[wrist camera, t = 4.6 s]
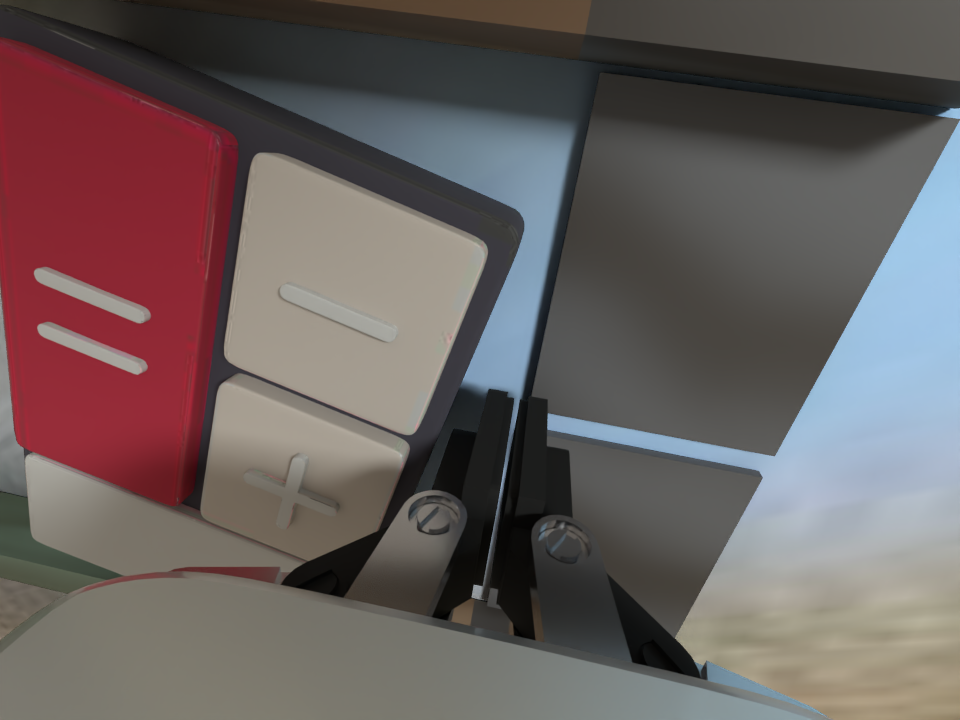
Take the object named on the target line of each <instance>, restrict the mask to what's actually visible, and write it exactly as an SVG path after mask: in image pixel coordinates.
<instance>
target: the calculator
mask: <svg viewBox="0 0 960 720" xmlns="http://www.w3.org/2000/svg"><path fill="white" fill-rule="evenodd" d="M523 232H524V221H523V218H522V216H521V214H520V213H519V212H518V211H516V210H515V209H513V208H511V207H509V206H507V205H505V204H503V203H501V202H498V201H496V200H494V199H491V198H489V197H487V196H485V195H482V194H480V193H478V192H475V191H473V190H471V189H468V188H466V187H464V186H461V185H459V184H457V183H455V182H452V181H450V180H448V179H445V178H443V177H441V176H438V175H436V174H434V173H432V172H429V171H427V170H425V169H422V168H420V167H418V166H415V165H413V164H411V163H408V162H406V161H404V160H402V159H399V158H397V157H395V156H392V155H390V154H388V153H385V152H383V151H381V150H378V149H376V148H374V147H372V146H369V145H367V144H365V143H362V142H360V141H358V140H355V139H353V138H351V137H348V136H346V135H344V134H342V133H339V132H337V131H335V130H332V129H330V128H328V127H325V126H323V125H321V124H318V123H316V122H314V121H312V120H309V119H307V118H305V117H302V116H300V115H298V114H295V113H293V112H291V111H288V110H286V109H284V108H282V107H279V106H277V105H275V104H272V103H270V102H268V101H265V100H263V99H261V98H259V97H256V96H254V95H252V94H249V93H247V92H245V91H242V90H240V89H238V88H235V87H233V86H231V85H229V84H226V83H224V82H222V81H219V80H217V79H215V78H212V77H210V76H208V75H205V74H203V73H201V72H199V71H196V70H194V69H192V68H189V67H187V66H185V65H182V64H180V63H178V62H175V61H173V60H171V59H169V58H166V57H164V56H162V55H159V54H157V53H155V52H152V51H150V50H148V49H145V48H143V47H141V46H138V45H136V44H134V43H131V42H128V41H126V40H122V39H119V38H116V37H113V36H109V35H106V34H103V33H100V32H96V31H93V30H90V29H86V28H83V27H80V26H77V25H73V24H70V23H67V22H63V21H60V20H57V19H53V18H50V17H46V16H43V15H39V14H36V13H33V12H29V11H26V10H22V9H19V8H16V7H12V6H7V5H0V288H1V299H2V309H3V319H4V330H5V340H6V350H7V360H8V371H9V381H10V391H11V401H12V412H13V422H14V431H15V436H16V440H17V442H18V444H19V445H20V446H22V447H24V456H25V472H26V483H27V494H28V506H29V517H30V528H31V534H32V537H33V538H34V539H35V540H36V541H38V542H40V543H42V544H44V545H46V546H49V547H51V548H54V549H56V550H59V551H62V552H64V553H67V554H69V555H72V556H74V557H77V558H80V559H82V560H85V561H87V562H90V563H93V564H95V565H98V566H100V567H103V568H105V569H108V570H111V571H113V572H116V573H118V574H121V575H123V576H130V575H137V574H145V573H152V572H168V571H171V570H173V569H177V568H184V567H280V568H281V572H292V571H293V570H294V569H295V568H297V567H299V566H300V565H302V564H304V563H306V562H308V561H310V560H312V559H315V558H317V557H319V556H322V555H324V554H326V553H328V552H331V551H333V550H335V549H338V548H340V547H342V546H344V545H347V544H349V543H351V542H354V541H356V540H358V539H361V538H363V537H365V536H367V535H370V534H372V533H374V532H377V531H379V530H381V529H383V528H386V527H388V526H390V525H391V523H392V522H393V520H394V519H395V517H396V516H397V514H398V513H399V511H400V509H401V508H402V506H403V505H404V503H405V502H406V501H407V500H408V499H409V498H410V497H412V496H413V495H414V492H415V490H416V488H417V485H418V483H419V481H420V478H421V476H422V474H423V471H424V469H425V467H426V464H427V462H428V460H429V457H430V455H431V453H432V450H433V448H434V446H435V443H436V441H437V439H438V436H439V434H440V432H441V429H442V427H443V425H444V422H445V420H446V418H447V415H448V413H449V410H450V408H451V406H452V403H453V401H454V399H455V396H456V394H457V392H458V389H459V387H460V385H461V382H462V380H463V378H464V375H465V373H466V371H467V368H468V366H469V364H470V361H471V359H472V357H473V354H474V352H475V350H476V347H477V345H478V343H479V340H480V338H481V336H482V333H483V331H484V329H485V326H486V324H487V322H488V319H489V317H490V315H491V312H492V310H493V308H494V305H495V303H496V301H497V298H498V296H499V294H500V291H501V289H502V287H503V284H504V282H505V280H506V277H507V275H508V273H509V270H510V268H511V266H512V263H513V261H514V258H515V256H516V254H517V251H518V248H519V245H520V242H521V239H522V235H523Z"/></svg>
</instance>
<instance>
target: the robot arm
mask: <svg viewBox="0 0 960 720" xmlns="http://www.w3.org/2000/svg"><path fill="white" fill-rule="evenodd" d="M507 393H508V392H504V391H499V390H493V389H489V390H488V394H487V398H486V402H485V406H484V409H483V413H482V417H481V421H480V424H479V428H478V432H477V433H476V432H471V431H465V430H460V429H455V428H454V429H453V431H452V433H451V436H450V439H449V442H448V445H447V448H446V450H445V453H444V456H443V459H442V462H441V465H440V467H439V470H438V473H437V476H436V479H435V482H434V484H433V487H432V490H429V491H424V492H420V493H417V494H415V495H414V496H412V497H410V498H409V499H408V500H407V501H406V502H405V503H404V505H403V506H402V508H401V509H400V511H399V513H398V514H397V516H396V517H395V519H394V520H393V522H392V523H391V525H390V526H388V527H386V528H383V529H381V530H379V531H377V532H374V533H372V534H370V535H367V536H365V537H363V538H361V539H358V540H356V541H354V542H351V543H349V544H347V545H344V546H342V547H340V548H338V549H335V550H333V551H331V552H328V553H326V554H324V555H322V556H319V557H317V558H315V559H312V560H310V561H308V562H306V563H304V564H302V565H300V566H299V567H297V568H295V569H294V570H293V571H292V572H281V568H280V567H184V568H177V569H173V570H171V571H168V572H152V573H145V574H137V575H130V576H123V577H118V578H114V579H109V580H105V581H102V582H98V583H95V584H91V585H88V586H85V587H83V588H80V589H78V590H75V591H73V592H71V593H69V594H67V595H65V596H63V597H61V598H59V599H57V600H56V601H54V602H52V603H51V604H49V605H48V606H46V607H44V608H43V609H41V610H40V611H38V612H37V613H35V614H34V615H33V616H31V617H30V618H28V619H27V620H26V621H24V622H23V623H21V624H20V625H19V626H18V627H16V628H15V629H14V630H13V631H11V632H10V633H9V634H7V635H6V636H5V637H4V638H2V639H1V640H0V720H833V719H830V718H828V717H827V716H826V715H824V714H822V713H821V712H819V711H817V710H816V709H814V708H812V707H810V706H808V705H806V704H803V703H801V702H799V701H797V700H794V699H792V698H790V697H788V696H785V695H783V694H781V693H779V692H776V691H774V690H772V689H769V688H767V687H765V686H763V685H760V684H758V683H756V682H754V681H751V680H749V679H747V678H744V677H742V676H740V675H738V674H735V673H733V672H731V671H729V670H726V669H724V668H722V667H719V666H717V665H715V664H713V663H710V662H708V661H706V663H705V664H704V666H703V665H700V664H698V663H696V662H694V660H693V659H692V657H691V656H690V654H689V653H688V652H687V651H686V650H685V649H684V647H683V646H682V645H681V644H680V643H679V642H678V641H677V640H676V639H675V638H674V637H673V636H672V635H671V634H670V633H668V632H667V631H666V630H665V629H664V628H663V627H662V626H661V625H660V624H659V623H658V622H657V621H656V620H655V619H654V618H653V617H652V616H651V615H650V614H649V613H648V612H647V611H646V610H645V609H644V608H643V607H642V606H641V605H639V604H638V603H637V602H636V601H635V600H634V599H633V598H632V597H631V596H630V595H629V594H628V593H627V592H626V591H625V590H624V589H623V588H622V587H621V586H620V585H619V584H618V583H617V582H616V581H615V580H614V579H613V578H612V577H610V576H609V575H608V574H607V573H606V569H605V566H604V562H603V559H602V555H601V552H600V548H599V545H598V542H597V540H596V538H595V536H594V534H593V533H592V532H591V531H590V530H589V528H588V527H586V526H585V525H584V524H582V523H581V522H580V521H578V520H575V519H573V513H572V493H571V473H570V454H569V450H566V449H561V448H556V447H550V446H547V416H548V399H543V398H538V397H532V396H528V400H527V401H526V400H520V403H519V409H518V414H517V419H516V425H515V430H514V435H513V441H512V446H511V451H510V457H509V462H508V467H507V472H506V478H505V484H504V491H503V498H502V505H501V512H500V519H499V526H498V532H497V539H496V546H495V553H494V560H493V567H492V574H491V581H490V588H493V589H498V593H497V601H496V604H497V605H499V606H500V607H501V609H502V610H503V611H504V613H505V614H506V615H507V616H508V618H509V619H510V623H509V634H504V633H500V632H495V631H491V630H486V629H482V628H477V627H473V626H469V625H464V624H460V623H455V622H451V620H452V617H453V612H454V608H456V607H457V606H459V605H461V604H462V603H464V602H466V601H467V600H469V599H471V596H472V591H473V585H474V584H475V585H479V586H483V581H484V575H485V570H486V564H487V559H488V553H489V548H490V543H491V537H492V532H493V526H494V521H495V515H496V510H497V505H498V499H499V493H500V487H501V481H502V475H503V468H504V462H505V455H506V449H507V442H508V436H509V429H510V423H511V417H512V410H513V404H514V398H509V397H507Z"/></svg>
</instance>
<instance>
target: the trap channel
mask: <svg viewBox="0 0 960 720" xmlns="http://www.w3.org/2000/svg"><path fill="white" fill-rule="evenodd" d="M116 1H124V2H132V3H140V4H147V5H155V6H163V7H171V8H178V9H186V10H194V11H202V12H209V13H217V14H225V15H233V16H240V17H248V18H256V19H264V20H272V21H279V22H287V23H295V24H303V25H310V26H318V27H326V28H334V29H341V30H349V31H357V32H365V33H372V34H380V35H388V36H396V37H403V38H411V39H419V40H427V41H434V42H442V43H450V44H458V45H465V46H473V47H481V48H489V49H496V50H504V51H512V52H520V53H527V54H535V55H543V56H551V57H558V58H566V59H574V60H582V61H590V62H597V63H605V64H613V65H621V66H628V67H636V68H644V69H652V70H659V71H667V72H675V73H683V74H690V75H698V76H706V77H714V78H721V79H729V80H737V81H745V82H752V83H760V84H768V85H776V86H783V87H791V88H799V89H807V90H814V91H822V92H830V93H838V94H845V95H853V96H861V97H869V98H876V99H884V100H892V101H900V102H907V103H915V104H923V105H931V106H939V107H946V108H960V0H116ZM959 120H960V119H955V118H947V117H940V116H932V115H924V114H917V113H909V112H901V111H894V110H886V109H878V108H871V107H863V106H855V105H848V104H840V103H832V102H825V101H817V100H809V99H802V98H794V97H786V96H779V95H771V94H763V93H756V92H748V91H740V90H733V89H725V88H717V87H710V86H702V85H694V84H687V83H679V82H671V81H664V80H656V79H649V78H641V77H633V76H626V75H618V74H610V73H603V72H600V74H599V77H598V82H597V87H596V91H595V96H594V101H593V105H592V110H591V115H590V120H589V124H588V129H587V134H586V138H585V143H584V148H583V153H582V157H581V162H580V167H579V171H578V176H577V181H576V186H575V190H574V195H573V200H572V204H571V209H570V214H569V219H568V223H567V228H566V233H565V237H564V242H563V247H562V251H561V256H560V261H559V266H558V270H557V275H556V280H555V284H554V289H553V294H552V299H551V303H550V308H549V313H548V317H547V322H546V327H545V332H544V336H543V341H542V346H541V350H540V355H539V360H538V365H537V369H536V374H535V379H534V383H533V388H532V393H531V396H532V397H538V398H543V399H548V413H551V414H556V415H561V416H567V417H572V418H577V419H582V420H588V421H593V422H598V423H603V424H608V425H614V426H619V427H624V428H629V429H635V430H640V431H645V432H650V433H656V434H661V435H666V436H671V437H677V438H682V439H687V440H692V441H697V442H703V443H708V444H713V445H718V446H724V447H729V448H734V449H739V450H745V451H750V452H755V453H760V454H765V455H771V456H775V455H776V453H777V451H778V449H779V447H780V446H781V444H782V442H783V440H784V438H785V437H786V435H787V433H788V431H789V429H790V427H791V426H792V424H793V422H794V420H795V418H796V417H797V415H798V413H799V411H800V409H801V407H802V406H803V404H804V402H805V400H806V398H807V397H808V395H809V393H810V391H811V389H812V388H813V386H814V384H815V382H816V380H817V378H818V377H819V375H820V373H821V371H822V369H823V368H824V366H825V364H826V362H827V360H828V358H829V357H830V355H831V353H832V351H833V349H834V348H835V346H836V344H837V342H838V340H839V338H840V337H841V335H842V333H843V331H844V329H845V328H846V326H847V324H848V322H849V320H850V318H851V317H852V315H853V313H854V311H855V309H856V308H857V306H858V304H859V302H860V300H861V298H862V297H863V295H864V293H865V291H866V289H867V288H868V286H869V284H870V282H871V280H872V279H873V277H874V275H875V273H876V271H877V269H878V268H879V266H880V264H881V262H882V260H883V259H884V257H885V255H886V253H887V251H888V249H889V248H890V246H891V244H892V242H893V240H894V239H895V237H896V235H897V233H898V231H899V229H900V228H901V226H902V224H903V222H904V220H905V219H906V217H907V215H908V213H909V211H910V209H911V208H912V206H913V204H914V202H915V200H916V199H917V197H918V195H919V193H920V191H921V189H922V188H923V186H924V184H925V182H926V180H927V179H928V177H929V175H930V173H931V171H932V170H933V168H934V166H935V164H936V162H937V160H938V159H939V157H940V155H941V153H942V151H943V150H944V148H945V146H946V144H947V142H948V140H949V139H950V137H951V135H952V133H953V131H954V130H955V128H956V126H957V124H958V122H959ZM547 446H550V447H556V448H561V449H566V450H569V454H570V473H571V493H572V513H573V519H575V520H578V521H580V522H581V523H582V524H584V525H585V526H586V527H588V528H589V530H590V531H591V532H592V533H593V534H594V536H595V538H596V540H597V542H598V545H599V548H600V552H601V555H602V559H603V562H604V566H605V569H606V573H607V574H608V575H609V576H610V577H612V578H613V579H614V580H615V581H616V582H617V583H618V584H619V585H620V586H621V587H622V588H623V589H624V590H625V591H626V592H627V593H628V594H629V595H630V596H631V597H632V598H633V599H634V600H635V601H636V602H637V603H638V604H639V605H641V606H642V607H643V608H644V609H645V610H646V611H647V612H648V613H649V614H650V615H651V616H652V617H653V618H654V619H655V620H656V621H657V622H658V623H659V624H660V625H661V626H662V627H663V628H664V629H665V630H666V631H667V632H668V633H670V634H671V635H672V636H673V637H674V638H675V636H676V635H677V633H678V631H679V629H680V627H681V626H682V624H683V622H684V620H685V618H686V616H687V615H688V613H689V611H690V609H691V607H692V606H693V604H694V602H695V600H696V598H697V596H698V595H699V593H700V591H701V589H702V587H703V586H704V584H705V582H706V580H707V578H708V576H709V575H710V573H711V571H712V569H713V567H714V566H715V564H716V562H717V560H718V558H719V556H720V555H721V553H722V551H723V549H724V547H725V546H726V544H727V542H728V540H729V538H730V536H731V535H732V533H733V531H734V529H735V527H736V526H737V524H738V522H739V520H740V518H741V516H742V515H743V513H744V511H745V509H746V507H747V506H748V504H749V502H750V500H751V498H752V497H753V495H754V493H755V491H756V489H757V487H758V486H759V484H760V482H761V480H762V478H763V477H762V476H761V474H760V473H759V471H756V470H751V469H746V468H740V467H735V466H730V465H725V464H720V463H715V462H709V461H704V460H699V459H694V458H689V457H684V456H679V455H673V454H668V453H663V452H658V451H653V450H648V449H643V448H637V447H632V446H627V445H622V444H617V443H612V442H606V441H601V440H596V439H591V438H586V437H581V436H576V435H570V434H565V433H560V432H555V431H550V430H547ZM0 577H1V578H5V579H9V580H13V581H18V582H22V583H26V584H30V585H34V586H38V587H42V588H46V589H50V590H55V591H59V592H63V593H67V594H69V593H71V592H73V591H75V590H78V589H80V588H83V587H85V586H88V585H91V584H95V583H98V582H102V581H105V580H109V579H114V578H118V577H123V575H121V574H118V573H116V572H113V571H111V570H108V569H105V568H103V567H100V566H98V565H95V564H93V563H90V562H87V561H85V560H82V559H80V558H77V557H74V556H72V555H69V554H67V553H64V552H62V551H59V550H56V549H54V548H51V547H49V546H46V545H44V544H42V543H40V542H38V541H36V540H35V539H34V538H33V537H32V534H31V528H30V517H29V506H28V498H26V497H21V496H17V495H12V494H8V493H4V492H0ZM497 593H498V589H493V588H490V591H489V596H488V601H487V602H485V601H480V600H476V599H469V600H467V601H466V602H464V603H462V604H461V605H459V606H457V607H456V608H454V612H453V617H452V620H451V622H455V623H460V624H464V625H469V626H473V627H477V628H482V629H486V630H491V631H495V632H500V633H504V634H509V623H510V619H509V618H508V616H507V615H506V614H505V613H504V611H503V610H502V609H501V607H500V606H499V605H497V604H496V601H497Z"/></svg>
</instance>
